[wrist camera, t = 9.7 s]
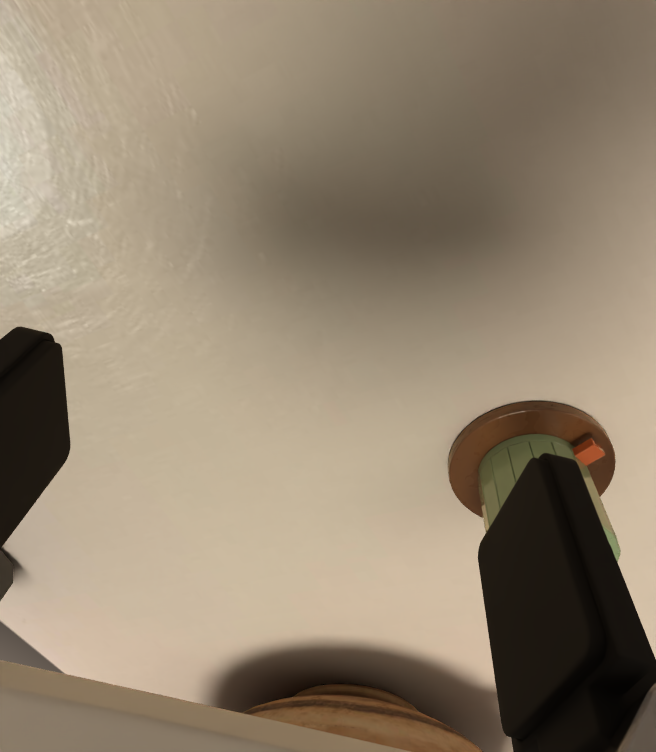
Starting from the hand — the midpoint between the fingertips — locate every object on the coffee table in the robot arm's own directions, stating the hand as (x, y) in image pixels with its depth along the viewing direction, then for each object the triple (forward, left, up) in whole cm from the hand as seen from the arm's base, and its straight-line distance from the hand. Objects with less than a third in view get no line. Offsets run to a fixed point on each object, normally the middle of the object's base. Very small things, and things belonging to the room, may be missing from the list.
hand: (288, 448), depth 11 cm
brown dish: (-4, +17, -16) cm, 24 cm away
